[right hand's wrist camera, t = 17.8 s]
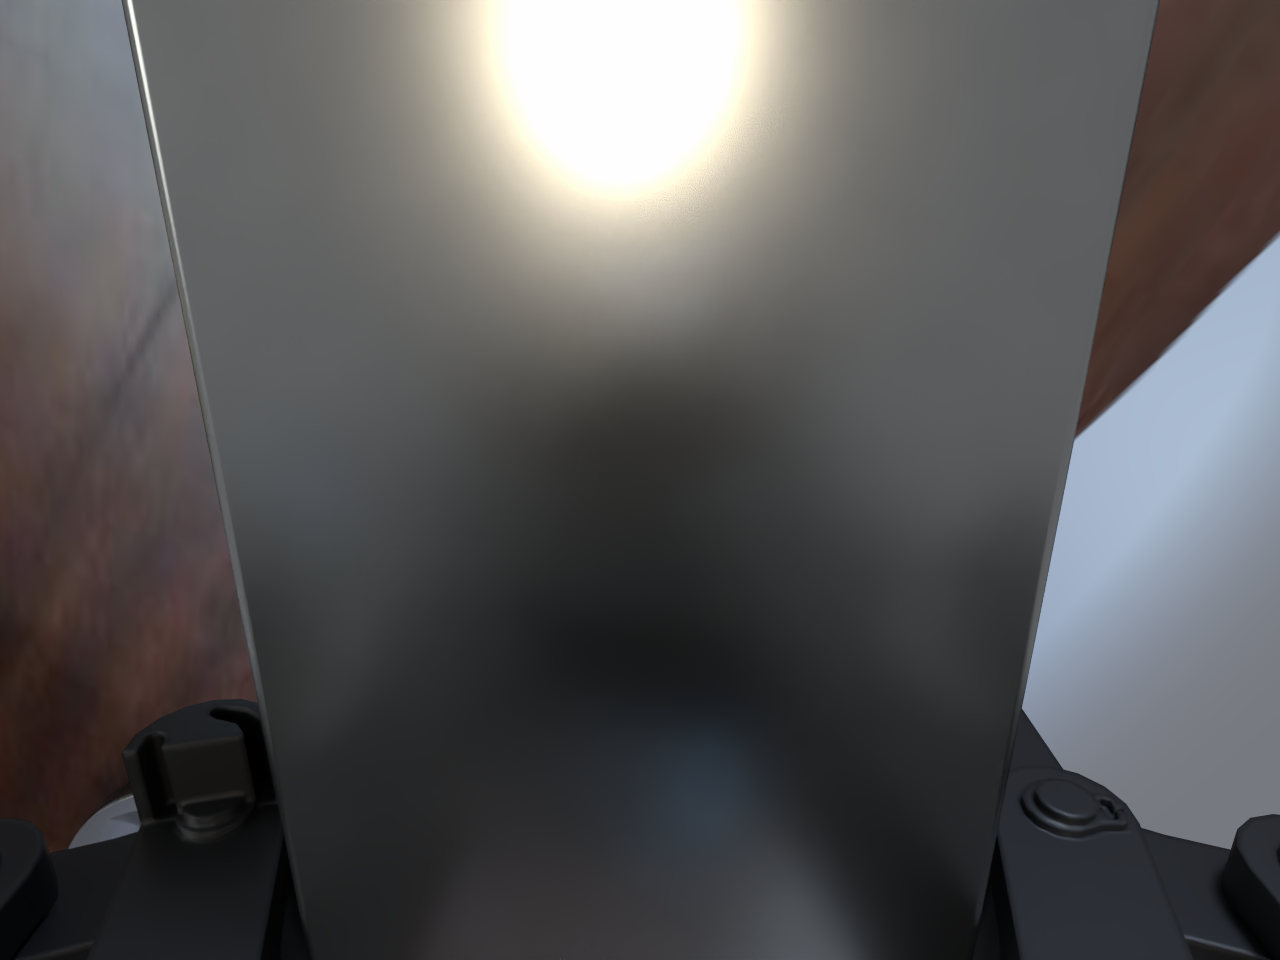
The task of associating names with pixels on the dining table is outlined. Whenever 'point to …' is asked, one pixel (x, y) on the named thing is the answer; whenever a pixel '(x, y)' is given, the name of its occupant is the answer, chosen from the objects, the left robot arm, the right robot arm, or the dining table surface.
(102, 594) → the dining table surface
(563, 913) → the bar
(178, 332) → the dining table surface
